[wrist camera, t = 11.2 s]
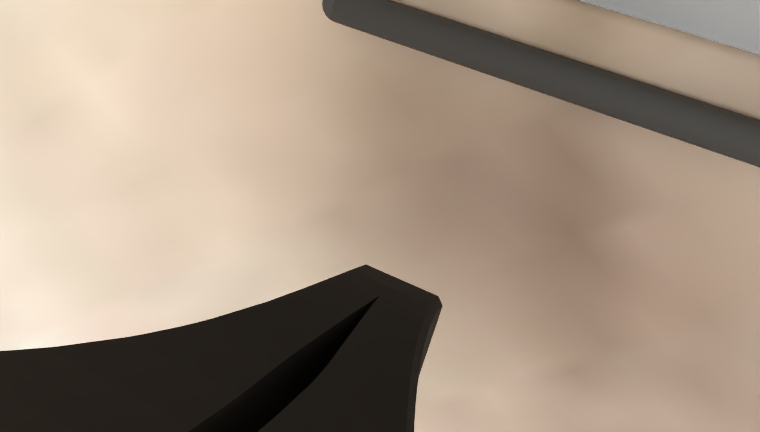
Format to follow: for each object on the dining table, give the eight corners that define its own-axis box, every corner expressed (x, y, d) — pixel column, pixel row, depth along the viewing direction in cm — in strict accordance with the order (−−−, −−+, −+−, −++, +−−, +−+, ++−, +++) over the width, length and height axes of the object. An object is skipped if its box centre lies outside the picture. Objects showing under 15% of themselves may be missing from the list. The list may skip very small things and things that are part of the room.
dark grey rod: (1236, 271, 14) (1271, 293, 13) (1198, 310, 15) (1231, 334, 14) (336, -21, 19) (319, -19, 18) (328, 14, 20) (312, 18, 19)
